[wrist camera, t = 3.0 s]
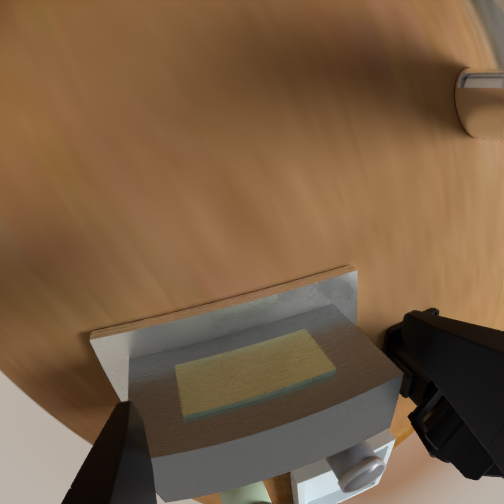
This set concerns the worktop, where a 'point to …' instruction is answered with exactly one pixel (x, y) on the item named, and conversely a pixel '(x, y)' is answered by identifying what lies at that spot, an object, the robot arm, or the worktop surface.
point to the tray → (333, 476)
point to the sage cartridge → (246, 495)
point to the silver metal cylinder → (481, 102)
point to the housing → (251, 383)
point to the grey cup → (356, 467)
